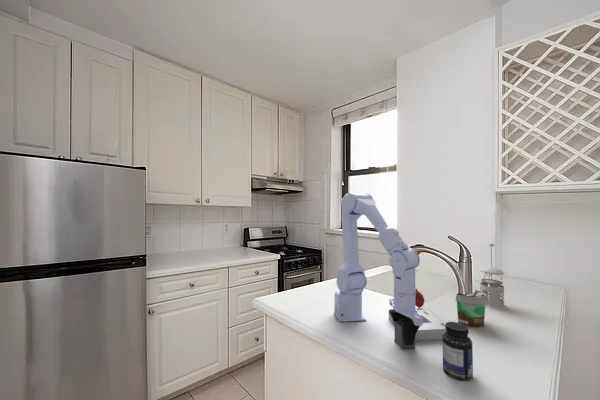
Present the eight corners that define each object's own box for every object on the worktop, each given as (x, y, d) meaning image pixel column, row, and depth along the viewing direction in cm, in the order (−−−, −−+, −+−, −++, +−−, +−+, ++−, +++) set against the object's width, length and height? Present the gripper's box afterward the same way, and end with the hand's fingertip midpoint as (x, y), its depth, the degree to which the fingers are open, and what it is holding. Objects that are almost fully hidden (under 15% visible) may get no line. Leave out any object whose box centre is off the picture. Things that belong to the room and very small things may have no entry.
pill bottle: (459, 364, 64) (459, 319, 64) (479, 380, 58) (479, 331, 58) (436, 366, 63) (436, 320, 64) (454, 382, 57) (454, 332, 58)
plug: (401, 349, 71) (401, 327, 71) (394, 341, 75) (394, 320, 75) (415, 348, 71) (415, 326, 71) (407, 341, 75) (407, 320, 75)
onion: (426, 313, 95) (426, 291, 96) (409, 311, 97) (409, 290, 97) (422, 307, 101) (422, 286, 101) (406, 305, 102) (406, 285, 102)
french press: (480, 307, 101) (480, 244, 102) (473, 298, 112) (472, 240, 113) (511, 311, 98) (510, 245, 98) (501, 301, 108) (500, 242, 109)
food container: (475, 332, 81) (474, 300, 81) (455, 324, 86) (455, 294, 87) (496, 324, 87) (495, 294, 87) (476, 317, 92) (476, 289, 92)
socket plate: (410, 340, 75) (410, 328, 75) (388, 320, 89) (388, 309, 89) (454, 338, 77) (454, 326, 77) (426, 318, 91) (426, 308, 91)
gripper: (433, 300, 67) (434, 353, 66) (404, 283, 81) (404, 327, 81) (408, 301, 66) (408, 355, 65) (383, 284, 80) (383, 328, 80)
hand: (404, 340), depth 73 cm, fingers closed on plug, 4 cm apart
